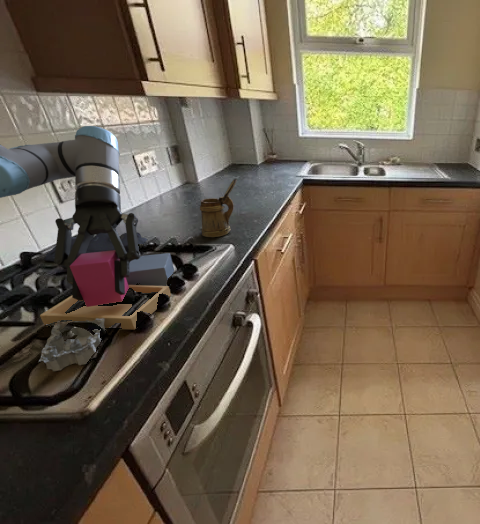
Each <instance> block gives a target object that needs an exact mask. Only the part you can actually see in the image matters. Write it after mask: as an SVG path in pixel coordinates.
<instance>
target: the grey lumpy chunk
mask: <svg viewBox="0 0 480 524" xmlns="http://www.w3.org/2000/svg"><path fill="white" fill-rule="evenodd" d="M104 321H105V318H103V319H97V318H96V320H94V321H89V320H86V321H85V322H94V323H96V324H98V326H100V327H101V328H103V329H105V326H104ZM70 322H74V321H67V322H60V320H58V321H57V323H55V325H54V327H52V329H51V331H50V333H51V334H50V336H49V337H48V338H47V340H46V343H45V345H44V347H43V348H42V349H41V352H40V358H39V360H38V363H39V362H40V363H41V362H43V363H44V364H45V365H46V366H45V367H46V370H52V372H57V371H62V370H63V369H64V368H66V367H68V366H70V365H72V364H73V365H74V364H77V365H78V366H82V365H86V364H88V363H89V362H90V361H89V359H90V358H91V356H92V355H93V354H94V353H95V352H96V350H97V349H98V348H97V346H98V345H99V344H100V342H101V340H102V337H101V338H100V331H101V329H100V330H98V329H94V330H92V331H93V332H94V333H95V334H94V335H93V336H92V335H91V334H90V332H89V331H87V330H85V329H81V328H73V329H72V330H71V331H72V333H74V334H75V335H78V336H77V337H76V338H75V339H67V340H66V341H64V339H63V337H62V333H61V332H60V330H61V329H63V328H64V327H65V326H66V325H67V324H68V323H70ZM105 330H106V331H107V329H105ZM88 361H89V362H88ZM87 362H88V363H87Z"/></svg>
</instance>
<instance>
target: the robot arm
mask: <svg viewBox="0 0 480 524" xmlns="http://www.w3.org/2000/svg"><path fill="white" fill-rule="evenodd" d="M120 157H121V153H120V149H119V142H118V138H117V137H116V135H114V133H112V132H111V131H109V130H108V129H105V128H103V127H100V126H95V125H84V126H81V127H80V128H78V129H77V130H76V131H75V135H74V139H68V140H63V141H57V142H56V141H55V142H46V143H45V142H44V143H36V144H24V145H19V146H18V145H17V146H15V147H14V146H13V147H10V148H7V147H6V146H3V145H2V144H0V199H1V198H7V197H10V196H11V197H12V196H17V195H20V194H21V193H23V192H25V191H27V190H31V189H33V188H36V187H40V186H43V185H46V184H49V183H51V182H54V181H58V180H64V179H70V178H75V181H74V189H75V192H74V207H75V208H74V210H75V211H74V213H73V214H72V217H69V218H66V219H63V218H61V217H60V218H59V217H57V218H56V219H55V225H56V227H57V234H56V243H55V246H56V251H55V259H54V261H53V262H54V263H55V264H56V265H58V266H59V267H61V268H63V269H66V281H67V283H68V284H70V285H71V286H72V291H71V296H72V298H74V299H76V300H79V301H83V298H82V295H81V293H80V290H79V288H78V285H77V283H76V281H75V278H74V276H73V273H72V271H71V269H70V265H71V264H72V263H73V262H74V261H75V260H76V259H77V258H78V257H79V256H80V255H81V254H85V253H86V250H87V248H88V246H89V243H90V241H91V240H92V239H93V237H95V236H96V235H97V234H100V233H104V234H108V236H109V238H110V240H111V242H112V244H113V246H114V249H115V251H116V253H117V255H118V258H119V259H120V261H119V260H115V261H114V267H115V292H117V293H118V294H120V295H124V294H125V280H124V278H125V277H129V275H130V266H129V263H130V262H131V261H132V260H137V259H139V258H140V256H141V254H140V253H141V252H140V251H139V246H138V239H137V232H138V231H137V227H138V224H139V219H138V218H137V216H136V215H135V213H133V212H129V213H127V214H126V213H123V212H122V206H121V205H122V203H121V202H122V201H121V195H120V194H121V178H120ZM122 221H123V223H124V225H125V230H126V231H125V233H127V241H128V249H129V253H126V250H125V248H124V246H123V244H122V242H121V240H120V237H119V236H120V234H119V232H118V230H117V227H119V225H120V224H121V223H122ZM76 224H77V225H78V226H79V227H78V229H77V236H76V237H77V238H76V240H75V242H74V245H73V247H72V249H71V252H70V248H71V239H72V237H73V232H72V231H73V230H74V226H75V225H76Z"/></svg>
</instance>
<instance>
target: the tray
mask: <svg viewBox="0 0 480 524" xmlns="http://www.w3.org/2000/svg"><path fill="white" fill-rule="evenodd" d="M129 288H132V289H133V290H134V291H136V292H142V293H151V292H158V293H156V294H155V295H154V296H153V297H152V298H151V299H149V300H148V301H147V302H146V303H145V304H143V305H142V306H141V307H140V308H139V309H138V310H136V311H135V312H134V313H133V314H132V315H130V316H122V315H123V314H124V313H125V312H127V311H128V310H129V309H130V308H131V307H132V304H117V305H113V306H98V305H96V306H90V307H86V306H83V307H81V308H79V309H77V310H75V311H72V312H70V313H67V314H66V313H65V312H66V311H67V310H68V309H69V308H70V307H71V306H72V305H73V304H75V303H76V302H77V301H78V300H76V299H74V298H72V295H70V296H68V297H66V298H65V299H64V300H62V301H61V302H58V303H57V304H56V305H54V306H52V307H51V308H49V309H48V310H45V311H44V312H43V313H41V314H40V315H39V317H40V319H41V322H42V323H43V325H44V326H45V325H46V324H50V323H53V322H57V321H58V320H60V321H61V320H72V321H86V320H89V321H94V320H96V318H97V319H103V318H105V321H104V326H105V328H109V327H111V326H112V325H114V324H115V323H121V328H122V329H121V330H133V331H134V330H136V329H137V328H136V321H137V312H140V311H143V312H147V313H150V314H151V315H152V314H153V313H155V311H156V310H158V309H157V305H158V304H157V302H158V297H159V294H162V293H163V294H166V295H168V296H171V297H172V293H171V289H170V286H148V285H129Z"/></svg>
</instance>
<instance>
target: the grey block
mask: <svg viewBox="0 0 480 524" xmlns="http://www.w3.org/2000/svg"><path fill="white" fill-rule="evenodd" d="M173 263H174V262H173V259H172V256H171V252H167V253H166V252H165V253H156V254H148V255H140V258H139V259H137V260H132V261H131V262H130V263H129V266H130V275H129V277H126V279H127V282H128V285H136V284H137V283H138V284H139V283H140V284H142V285H148V286H166V281H167V280H168V278H169V277H170V276H171V275H172V274H173V275H174V273H175V268H174V264H173ZM173 272H174V273H173Z"/></svg>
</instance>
